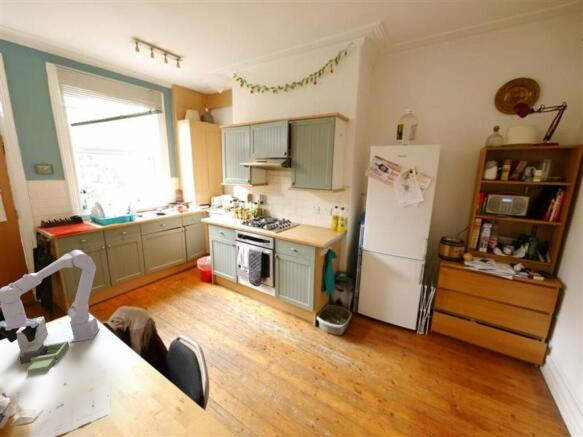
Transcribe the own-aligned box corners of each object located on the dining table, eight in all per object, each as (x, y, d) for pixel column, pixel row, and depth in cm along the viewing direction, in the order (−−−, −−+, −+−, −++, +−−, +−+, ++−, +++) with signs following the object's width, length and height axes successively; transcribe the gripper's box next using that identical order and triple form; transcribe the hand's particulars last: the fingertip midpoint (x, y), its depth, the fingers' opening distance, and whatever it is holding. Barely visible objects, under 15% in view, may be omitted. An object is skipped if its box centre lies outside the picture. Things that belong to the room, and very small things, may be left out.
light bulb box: (31, 338, 122) (26, 319, 120) (49, 334, 125) (44, 315, 123) (20, 353, 113) (14, 333, 110) (39, 348, 116) (34, 329, 113)
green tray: (69, 346, 118) (68, 341, 117) (51, 369, 105) (49, 363, 104) (44, 350, 115) (43, 345, 114) (23, 374, 102) (21, 368, 102)
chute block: (48, 352, 114) (45, 342, 113) (40, 361, 109) (37, 350, 108) (29, 355, 112) (26, 345, 111) (20, 364, 107) (17, 354, 106)
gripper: (-15, 319, 99) (-5, 348, 103) (22, 319, 100) (31, 347, 103) (4, 309, 106) (13, 335, 110) (39, 308, 107) (46, 335, 110)
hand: (22, 340), depth 107 cm, fingers open, 7 cm apart
